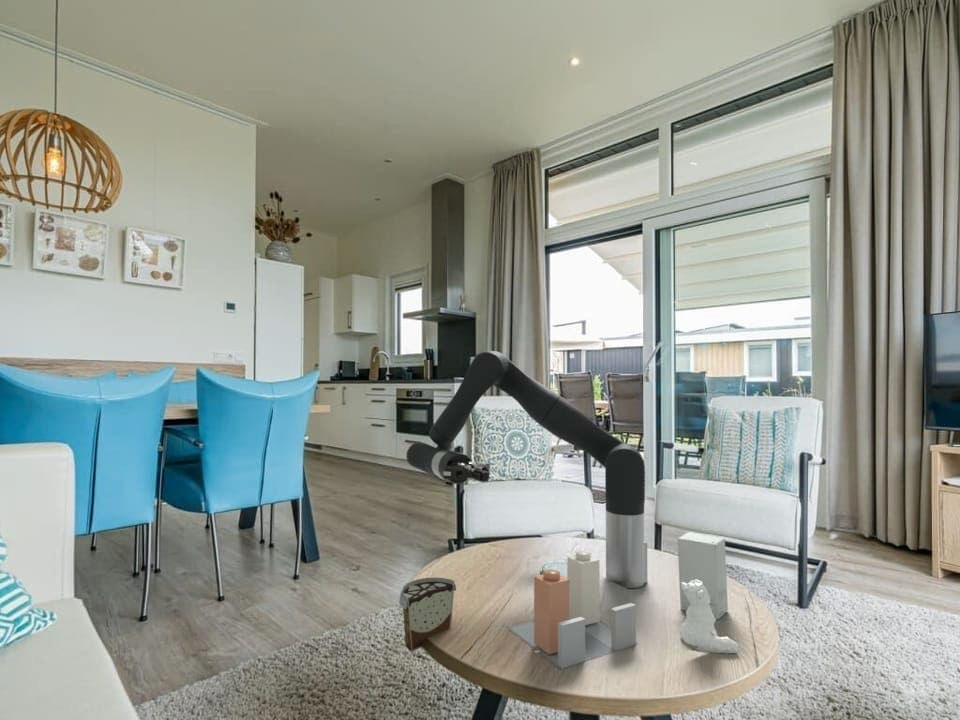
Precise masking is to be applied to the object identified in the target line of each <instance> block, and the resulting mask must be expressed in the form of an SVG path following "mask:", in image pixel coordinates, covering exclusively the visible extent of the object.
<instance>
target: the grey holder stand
mask: <svg viewBox="0 0 960 720" xmlns="http://www.w3.org/2000/svg"><path fill="white" fill-rule="evenodd" d="M636 606H637V605H636V604H634V603H632V602H630V603H626V604H621V605H619V606H615V607H611V609H610V621H611V622H610V626H609V625H608V624H605V623H604V622H603V621H599V622H595V623H592V624H588V625H585V619H584V618H582V617H578V618H574V619H569V620H567V621H563V622H560V623H558V652H556V653H553V654H550V655H549V654H548V653H546V652H545V651H544V650H542V649H541V648H540V647H538V646H537V645H536V644H534V619H532V620H528V621H527V620H526V621H525V622H524V621H523V622H520V623H517V624H516V623H515V624H512V625H508V626H506V627H505V628H506V629H507V630H509V631H510V632H511V633H512V634H514V635H515V636H517V637H518V638H519V639H520V640H522V642H524V643H525V644H527V645H528V646H529V647H530V648H532V649H533V650H534V651H533V652H534V653H535V654H540V655H541V656H542V657H543V658H545V660H547V661H548V662H549V663H551V664H552V665H554V666H555V667H556V668H557V669H558V670H559V671H560V670H561V671H562V670H564V669H566V668H569V667H573V666H576V665H578V664H582V663H585V662H588V661H592V660H593V659H597V658H600V657H603V656H605V655H609V654H613V653H615V652H618V651H622V650H624V649H627V648H630V647H634V646H637V645H639V643H638V642H637V607H636Z"/></svg>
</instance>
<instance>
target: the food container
mask: <svg viewBox="0 0 960 720" xmlns="http://www.w3.org/2000/svg"><path fill="white" fill-rule="evenodd" d="M455 592H457V584H456V583H455V580H454V579H450V578H445V577H424V578H419V579H414V580H411V581H410V582H408V583H405V585H404V586H403V587H402V588H401V591H400V595H399V600H398V602H399V605H400V607H401V608H402V611H403V613H402V614H403V624H404V625H403V626H404V640H405V647H406V648H407V649H408V650H409V652H411V653H412V652H414V651H416V650H419V649H422V648H424V646H423V644H422V643H421V642H422V641H424V640H426V639H428V638H432V637H433V636H435V635H437V634H440V633H442V632H445V631H447V630H449V629H452V620H453V619H452V617H453V608H454V607H453V606H454V605H453V604H454V593H455Z"/></svg>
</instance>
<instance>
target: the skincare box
mask: <svg viewBox="0 0 960 720" xmlns="http://www.w3.org/2000/svg"><path fill="white" fill-rule="evenodd" d="M677 552H678V554H677V556H678V557H677V558H678V581H679V603H680V604H679V605H680V610H682V611H685V612H686V611H687V610H688V607H689V606H690V605H691V603H690V602H689V600H688V599H687V596H686V595H684V591H683V590H682V588H681V583H682V582H684V583H686V584H688V583H689V582H690V581H692V580H700V581H702V582H703V586H704V587H705V588H706V589H707V591H708V595H709V596H710V603H709V605H710V608H711V610H712V614H713V616H714V618H715V619H716V621H719V620H720V619H721V618H722V617H723V615H725V614H726V613H727V612H728V610H729V605H728V583H727V563H726V562H727V561H726V559H727V558H726V539H725V537H718V536H714V535H709V534H708V535H707V534H700V533H696V532H690V531H688V532H686V533H685V534H682V536H679V537H678V538H677Z"/></svg>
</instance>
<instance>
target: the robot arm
mask: <svg viewBox="0 0 960 720" xmlns="http://www.w3.org/2000/svg"><path fill="white" fill-rule="evenodd" d="M492 386H494V387H496V388H498V389H499V390H501V391H503V393H506V394H507V395H509V396H510V397H511V398H513V399H514V400H515V401H516V402H517V403H518V404H519V405H520V406H521V408H523V410H524V411H525V413H527V414H528V415H529V417H531V419H532V420H533V421H535V422H536V423H537V424H539V425H540V426H541V427H542V428H544V429H545V430H547V431H548V432H549V433H551V435H553V436H555V437H557V438H558V439H560V440H561V441H564V442H566V443H568V444H570V445H572V446H574V447H576V448H578V449H580V450H582V451H583V452H586V453H587V454H588V455H590V456H591V457H592V458H593V459H594V460H596V461H597V462H598V463H599V464H600V465H602V467H604V469H605V472H604V474H605V476H604V477H605V479H604V480H605V486H604V487H605V489H604V490H605V493H604V494H605V579H606V580H608V581H610V582H612V583H614V584H616V585H618V586H620V587H623V588H625V589H637V588H641V587H643V586H644V585H645V584H646V583H648V543H647V541H645V501H646V500H645V499H646V491H645V490H646V480H645V479H646V469H645V461H644V458H643V456H642V454H641V452H640V451H638V449H636V448H635V447H633V446H632V445H630V444H628V443H626V442H624V441H622V440H621V439H619V438H617V437H616V436H614V435H612V434H610V433H608V432H607V431H605V430H604V429H602V428H601V427H600V426H598V424H597V423H595V422H594V421H593V420H592V419H591V418H590V417H589V416H587V414H585V413H584V412H583V411H581V410H580V409H579V408H577V406H575V405H574V404H572V403H571V402H570V401H568V400H567V399H565V398H564V397H562V396H561V395H560V394H558V393H556V392H555V391H554V390H551V389H550V388H548V387H547V386H546V385H544V384H542V383H540V382H539V381H537V380H535V379H534V378H532V377H531V376H529V375H528V374H526V373H525V372H524V371H522V369H520V368H519V367H518V366H516V364H515V363H514V362H512V360H510V359H509V358H508V357H507V356H506V355H504V354H503V353H501V352H499V351H498V350H497V351H496V350H486V351H482V352H479V353H477V355H475V356H474V357H473V359H472V362H471V363H470V365H469V367H468V369H467V371H466V373H465V376H464V378H463V380H462V382H461V384H460V385H459V387H458V389H457V391H456V392H455V394H454V395H453V397H452V399H451V400H450V401H449V403H448V404H447V406H446V407H445V408H444V410H443V411H442V413H441V414H440V415H439V417H438V418H437V420H436V421H435V422H434V424H433V425H432V426H431V428H430V429H429V431H428V435H429V438H430V439H431V441H432V442H433V443H434V444H436V446H432V445H430V444H428V443H426V442H423V441H416V442H414V443H412V444H411V445H409V447H408V449H407V451H406V461H407V463H408V464H409V466H411V467H414V468H416V469H417V470H421V471H423V472H424V473H427V474H429V475H430V474H431V475H434V476H437V477H438V478H439V479H442V480H444V481H446V482H449V483H452V484H454V485H461V484H463V483H465V482H467V481H478V482H481V483H485V482H489V480H490V475H491V463H485V464H482V466H480V464H478V463H474V462H473V461H472V459H471V458H470V457H469V456H468V455H467V454H465V453H463V452H460V451H459V452H458V451H455V450H451V449H450V448H451V446H452V445H453V442H454V441H455V440H456V438H457V437H458V435H459V434H460V432H462V430H463V428H464V426H465V425H466V423H467V421H468V419H469V417H470V415H471V413H472V411H473V409H474V408H475V406H476V405H477V403H478V402H479V400H480V399H481V398H482V397H483V395H485V393H487V391H488V390H489V389H490V388H491V387H492Z"/></svg>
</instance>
